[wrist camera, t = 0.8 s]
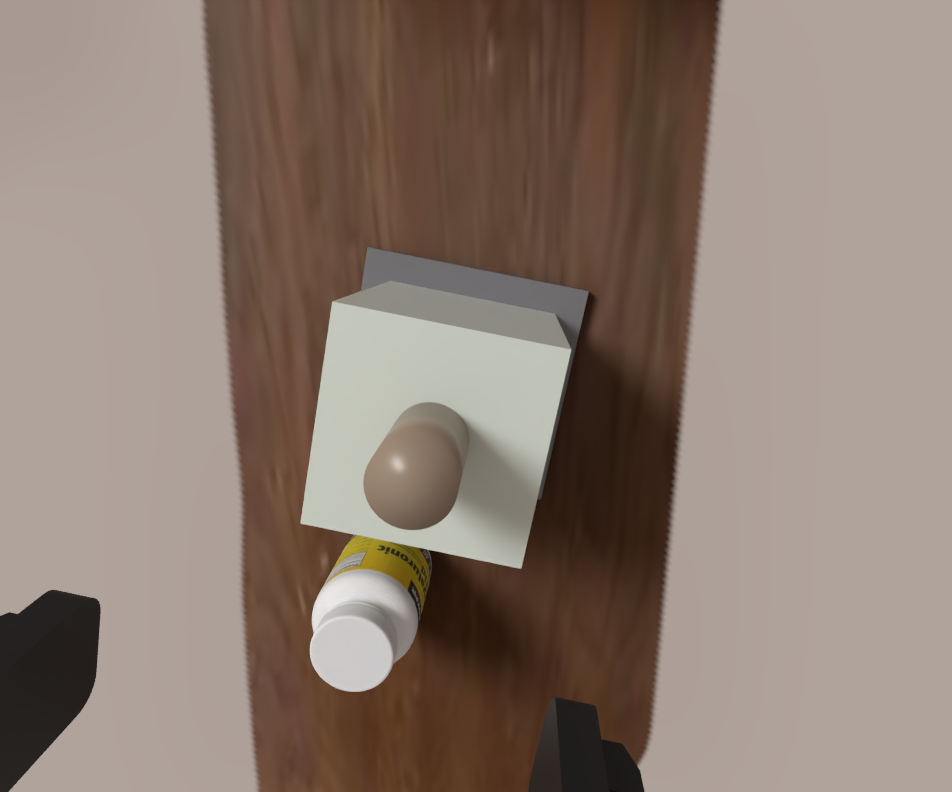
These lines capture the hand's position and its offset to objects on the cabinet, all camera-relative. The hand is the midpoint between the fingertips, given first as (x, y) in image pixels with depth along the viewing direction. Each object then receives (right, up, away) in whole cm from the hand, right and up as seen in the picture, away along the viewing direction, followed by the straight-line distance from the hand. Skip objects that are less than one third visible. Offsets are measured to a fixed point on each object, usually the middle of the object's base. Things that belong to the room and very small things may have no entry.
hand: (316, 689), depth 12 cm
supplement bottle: (-3, -5, +30) cm, 30 cm away
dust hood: (+2, +6, +26) cm, 27 cm away
